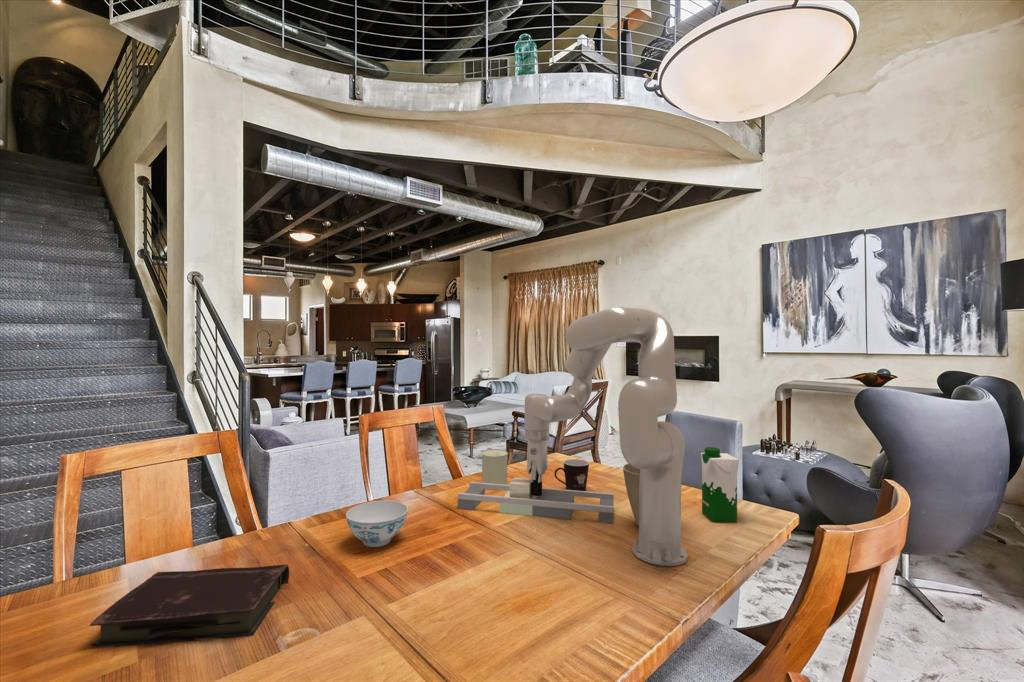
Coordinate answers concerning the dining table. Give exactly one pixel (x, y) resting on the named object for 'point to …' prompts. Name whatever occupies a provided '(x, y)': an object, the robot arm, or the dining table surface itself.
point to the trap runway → (538, 502)
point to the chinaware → (376, 521)
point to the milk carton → (719, 485)
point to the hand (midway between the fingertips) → (536, 494)
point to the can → (494, 467)
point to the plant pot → (632, 488)
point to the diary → (192, 606)
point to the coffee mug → (575, 474)
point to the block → (520, 488)
